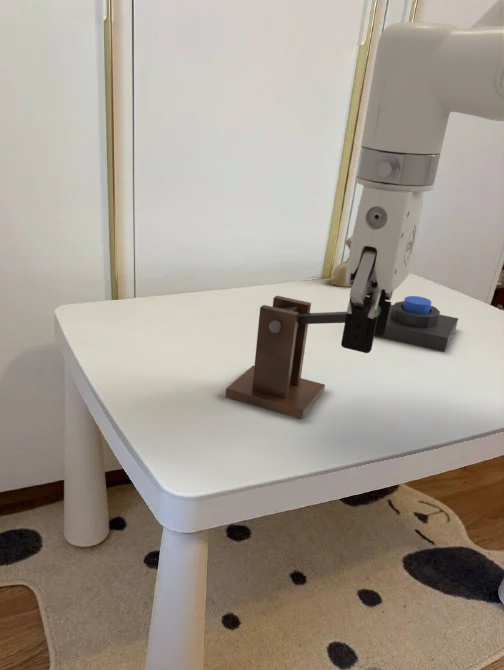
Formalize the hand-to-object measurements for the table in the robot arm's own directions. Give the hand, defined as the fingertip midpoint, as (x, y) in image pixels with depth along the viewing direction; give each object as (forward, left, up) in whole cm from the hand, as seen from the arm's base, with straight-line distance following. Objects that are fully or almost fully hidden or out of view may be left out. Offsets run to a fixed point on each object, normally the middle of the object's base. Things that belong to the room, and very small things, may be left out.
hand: (363, 339), depth 70 cm
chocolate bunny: (+15, -51, -10) cm, 54 cm away
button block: (-1, -32, -10) cm, 33 cm away
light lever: (+5, 0, 0) cm, 5 cm away
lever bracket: (+9, 0, -10) cm, 14 cm away
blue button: (-1, -32, -6) cm, 33 cm away
